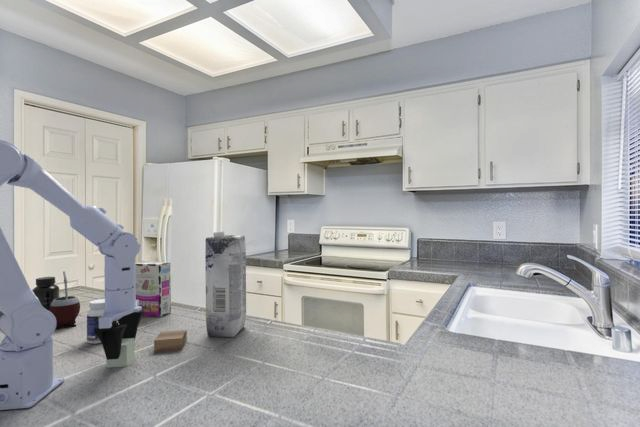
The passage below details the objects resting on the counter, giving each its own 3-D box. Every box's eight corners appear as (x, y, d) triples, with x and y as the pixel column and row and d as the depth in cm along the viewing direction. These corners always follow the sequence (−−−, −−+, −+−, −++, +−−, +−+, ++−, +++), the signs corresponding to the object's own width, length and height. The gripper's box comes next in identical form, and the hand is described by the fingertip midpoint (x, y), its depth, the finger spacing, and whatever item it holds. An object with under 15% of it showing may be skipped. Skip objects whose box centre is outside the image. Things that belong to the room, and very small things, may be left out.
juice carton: (248, 325, 96) (248, 230, 96) (236, 339, 86) (235, 232, 86) (218, 325, 97) (217, 230, 97) (202, 338, 87) (201, 232, 87)
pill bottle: (100, 345, 83) (100, 304, 83) (81, 343, 84) (80, 303, 84) (119, 336, 89) (118, 298, 89) (100, 335, 90) (100, 297, 90)
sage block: (127, 366, 71) (126, 344, 71) (106, 367, 71) (106, 346, 71) (134, 358, 75) (134, 338, 75) (115, 359, 75) (115, 339, 75)
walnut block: (181, 351, 80) (181, 338, 80) (154, 353, 78) (154, 340, 79) (186, 341, 86) (186, 329, 86) (161, 343, 84) (161, 331, 84)
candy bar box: (171, 313, 110) (171, 262, 110) (160, 317, 105) (159, 264, 105) (143, 310, 113) (143, 261, 113) (131, 314, 108) (131, 263, 108)
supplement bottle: (36, 314, 110) (36, 277, 110) (62, 311, 113) (61, 275, 113) (28, 320, 104) (28, 280, 104) (56, 317, 106) (56, 278, 107)
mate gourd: (65, 330, 94) (64, 276, 94) (40, 329, 95) (40, 275, 95) (87, 322, 101) (87, 271, 101) (64, 321, 102) (64, 271, 102)
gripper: (125, 294, 66) (126, 364, 66) (152, 280, 81) (152, 337, 81) (86, 296, 65) (87, 367, 65) (120, 281, 80) (120, 339, 80)
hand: (121, 351), depth 73 cm, fingers open, 7 cm apart
